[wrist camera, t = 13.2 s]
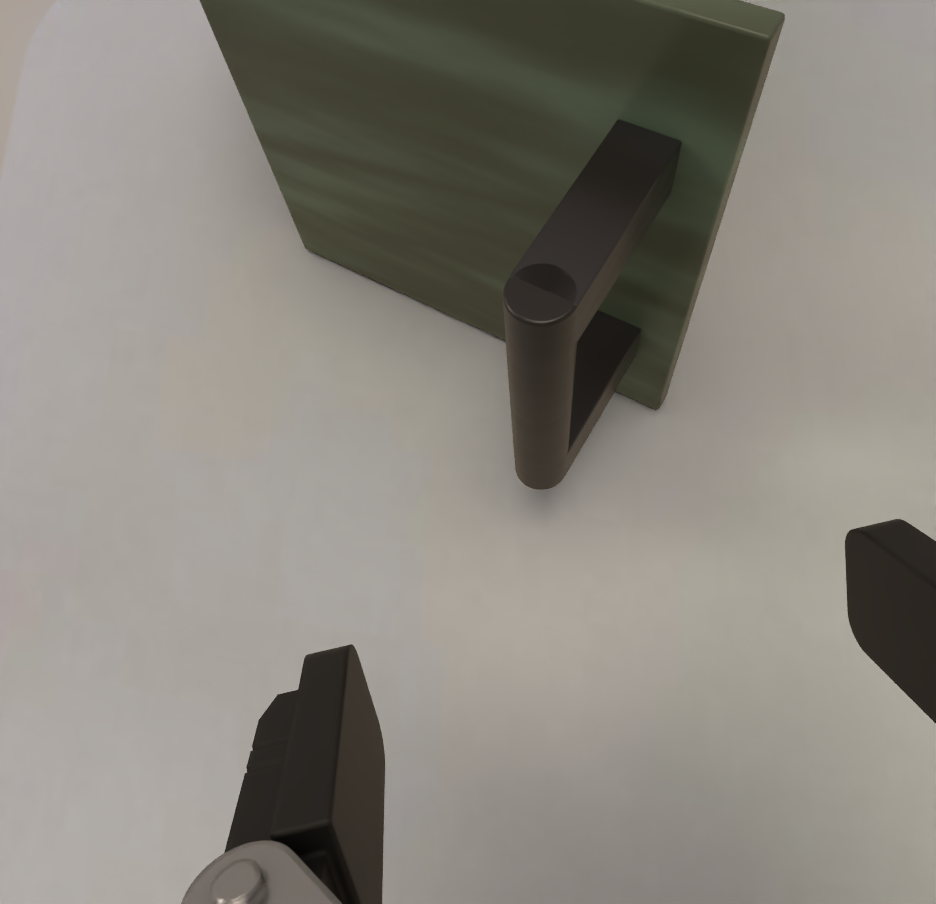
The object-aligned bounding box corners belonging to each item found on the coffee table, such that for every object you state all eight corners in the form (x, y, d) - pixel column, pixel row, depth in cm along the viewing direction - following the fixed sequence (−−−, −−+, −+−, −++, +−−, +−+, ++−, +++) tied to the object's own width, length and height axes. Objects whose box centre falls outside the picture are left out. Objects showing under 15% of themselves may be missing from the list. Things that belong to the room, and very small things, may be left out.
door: (581, 546, 25) (629, 266, 12) (218, 353, 30) (-41, -6, 16) (667, 394, 27) (788, 11, 14) (315, 235, 32) (155, -168, 19)
